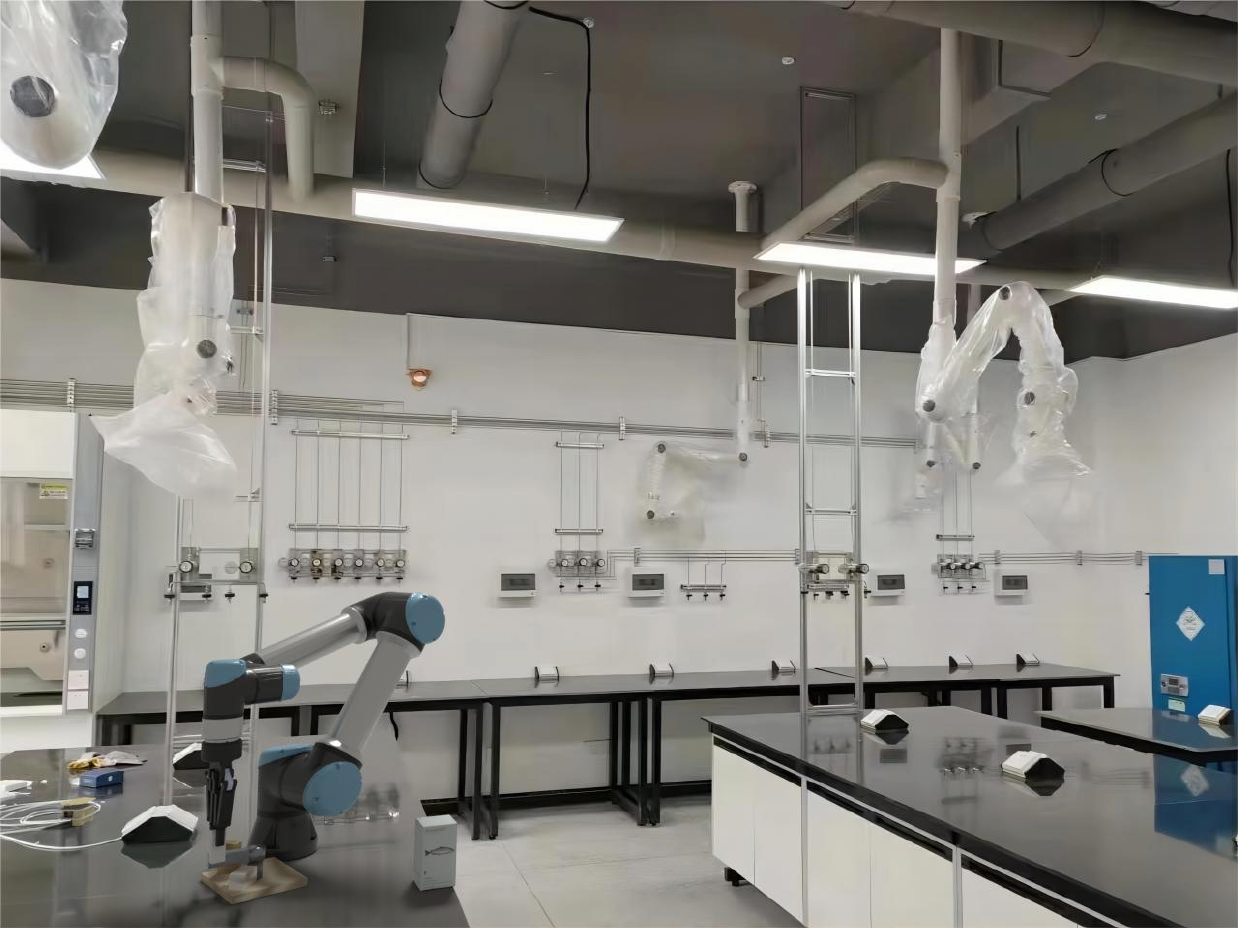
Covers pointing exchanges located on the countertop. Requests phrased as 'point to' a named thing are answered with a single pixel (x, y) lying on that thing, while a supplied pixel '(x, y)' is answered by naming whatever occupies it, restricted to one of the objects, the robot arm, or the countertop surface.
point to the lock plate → (262, 886)
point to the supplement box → (435, 852)
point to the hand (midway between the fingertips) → (216, 861)
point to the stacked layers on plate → (78, 811)
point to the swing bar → (241, 856)
